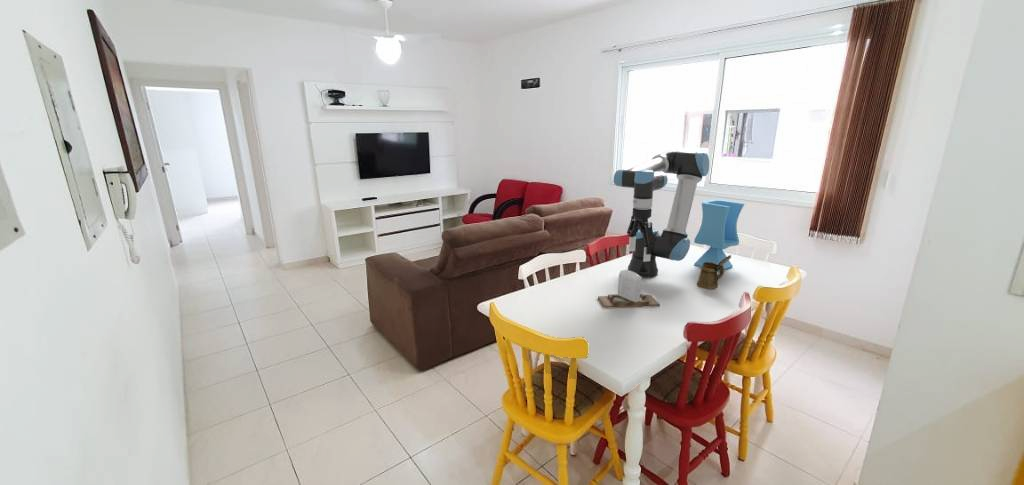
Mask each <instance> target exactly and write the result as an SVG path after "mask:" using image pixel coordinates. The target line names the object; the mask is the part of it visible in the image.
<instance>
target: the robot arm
mask: <svg viewBox="0 0 1024 485" xmlns="http://www.w3.org/2000/svg"><path fill="white" fill-rule="evenodd" d="M709 157H710V156H709V155H708V153H707V152H706V151H701V150H678V149H675V150H669V151H664V152H661V153H660V154H657V155H654V156H653V157H652V158H651V159H650V160H647V161H645V162H644V163H640V164H638V165H636V166H634V167H631V168H628V169H617V170H616V171H615V172H614V174H613V183H614V185H615V186H616V187H621V188H630V189H633V198H632V203H633V204H632V206H633V208H632V212H631V213H632V215H631V218H630V221H629V225H628V227H627V232H626V234H627V235H628V237H629V238H628V239H629V240H628V252H632V255H631V259H630V260H629V263H628V266H627V270H629V271H632V272H635V273H636V274H638V275H639V276H641V278H653V277H656V276H658V274H659V269H658V265H657V260H656V258H657V257H658V258H662V259H665V260H670V261H676V262H677V261H678V262H679V261H682V260H683V259H685V257H686V256H687V255H688V252H689V250H690V248H691V247H690V246H691V240H690V239H689V238H688V235H689V234H688V233H687V231H686V229H687V226H688V222H689V218H690V213H691V209H692V206H693V203H694V202H693V201H694V197H695V193H696V190H697V185H698V183H700V182H702V180H703V177H706V176H707V175H708V174H709V170H710V158H709ZM667 174H674V175H676V176H675V177H676V179H677V180H678V181H677V186H676V189H675V193H674V198H673V201H672V206H671V210H670V215H669V218H668V222H667V226H666V227H665V228H664V229H663V230H662V233H659V230H658V229H656V228H653V222H651V221H650V222H649V219H650V218H651V217H652V212H653V211H652V208H653V194H654V191H657V190H661V189H663V188H664V187H666V185H667V183H668V176H667Z"/></svg>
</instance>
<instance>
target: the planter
mask: <svg viewBox="0 0 1024 485" xmlns="http://www.w3.org/2000/svg"><path fill="white" fill-rule="evenodd" d="M744 206H745V203H743V202H737V201H736V202H735V201H730V200H729V201H728V200H722V199H711V200H705V201H702V202H701V210H702V219H701V225H700V227H699V229H698V232H697V234H696V236H695V238H694V241H693V243H694V244H698V245H705V246H709V248H708V249H707V250H706V251H705V252H704V253H703V254H702V255H701V256H700V257H699V258H698V259H697V260H696V261H695V262H694V264H693V266H694V267H697V268H701V267H702V265H703V263H704V262H711V263H715V264H719V263H720V262H721V261H722V260H723V259H724V258H726V257H728V256H727V255H726V253H725V252H724V250H727V249H728V248H730V247H735V246H739V244H740V239H739V234H738V228H737V227H738V224H737V223H738V220H739V217H740V213H741V211H742V210H743V209H744ZM733 266H734V265H733V263H732V262H731V261H730V259H729V260H728V261H727V262H726V263H724V264H723V267H724V271H727V270H729V269H732V268H733ZM717 273H720V271H719V270H718V272H717Z"/></svg>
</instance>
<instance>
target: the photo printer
mask: <svg viewBox="0 0 1024 485" xmlns="http://www.w3.org/2000/svg"><path fill="white" fill-rule="evenodd" d="M617 283H618V285H617V294H618V295H619V296H621V297H623V298H626V299H628V300H630V301H633V302H638V301H639V300H640V294H641V292H642V291H641V290H642V277H641V276H639V275H638V274H636V273H635V272H632V271H629V270H628V269H623V270H620V272H619V273H618V282H617Z"/></svg>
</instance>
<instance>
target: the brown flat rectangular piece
mask: <svg viewBox="0 0 1024 485" xmlns="http://www.w3.org/2000/svg"><path fill="white" fill-rule="evenodd" d="M597 299H598V301H599V300H600V301H599V303H600V302H601V303H602V304H601V303H600V304H601V305H603V306H604V307H621V308H642V306H651V307H660V306H661V304H660V303H659V301H657V300H656V298H655V297H654V296H653V295H651V294H644V293H640V300H639V301H638V302H633V301H630V300H628V299H626V298H623V297H621V296H619V295H618V294H608V295H599V296H597ZM603 306H602V307H603ZM604 307H603V308H604Z"/></svg>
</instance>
